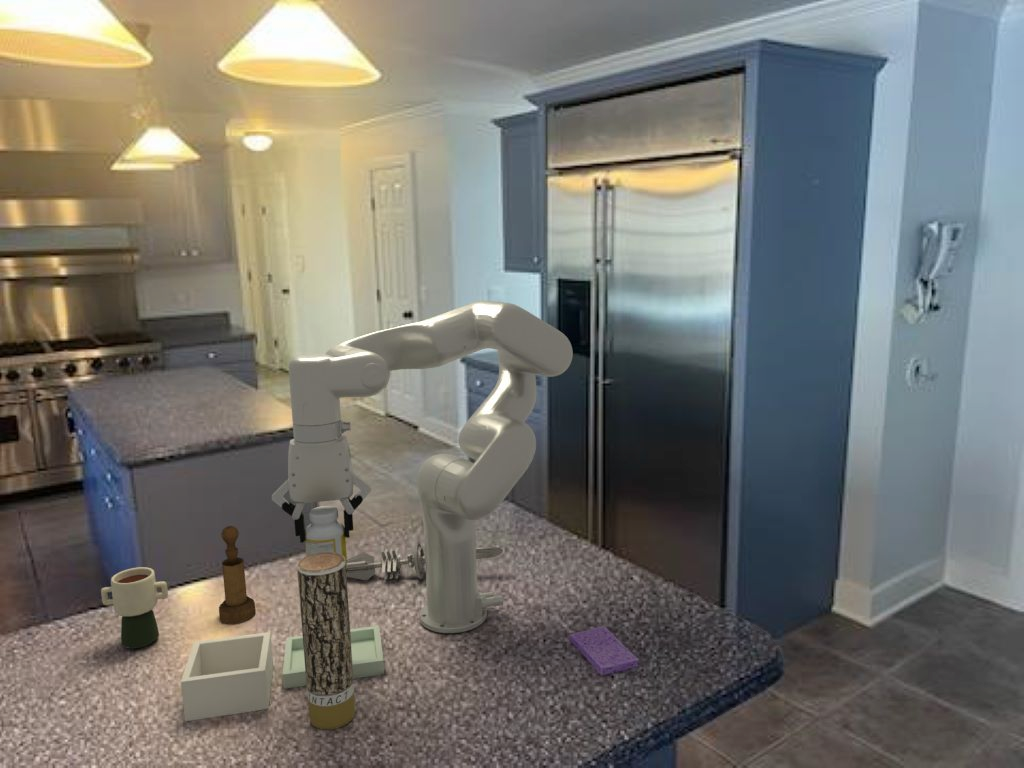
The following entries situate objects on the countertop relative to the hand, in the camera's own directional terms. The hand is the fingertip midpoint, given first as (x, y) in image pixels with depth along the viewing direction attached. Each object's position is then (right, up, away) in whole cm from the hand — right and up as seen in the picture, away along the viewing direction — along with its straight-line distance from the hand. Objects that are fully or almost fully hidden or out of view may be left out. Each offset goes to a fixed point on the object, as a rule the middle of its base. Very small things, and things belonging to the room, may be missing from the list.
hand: (325, 536), depth 127 cm
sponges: (+46, -22, +6) cm, 52 cm away
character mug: (-36, -22, +12) cm, 44 cm away
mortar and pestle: (-22, -20, +21) cm, 36 cm away
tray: (+1, -22, +4) cm, 23 cm away
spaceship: (+12, -16, +36) cm, 42 cm away
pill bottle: (0, -7, +1) cm, 7 cm away
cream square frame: (-14, -24, -4) cm, 28 cm away
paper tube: (+4, -25, -11) cm, 28 cm away
